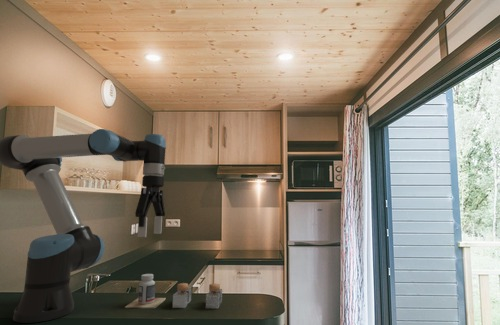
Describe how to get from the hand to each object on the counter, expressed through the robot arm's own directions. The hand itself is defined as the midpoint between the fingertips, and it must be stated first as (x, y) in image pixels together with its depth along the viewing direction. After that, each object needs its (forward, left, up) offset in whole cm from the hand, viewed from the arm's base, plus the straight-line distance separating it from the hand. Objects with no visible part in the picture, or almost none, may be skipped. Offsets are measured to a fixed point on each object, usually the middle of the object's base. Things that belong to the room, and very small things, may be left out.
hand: (150, 235), depth 101 cm
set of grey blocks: (+18, 0, -23) cm, 29 cm away
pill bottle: (0, 0, -22) cm, 23 cm away
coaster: (0, 0, -23) cm, 23 cm away
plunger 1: (+13, 0, -21) cm, 25 cm away
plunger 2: (+24, 0, -21) cm, 32 cm away
